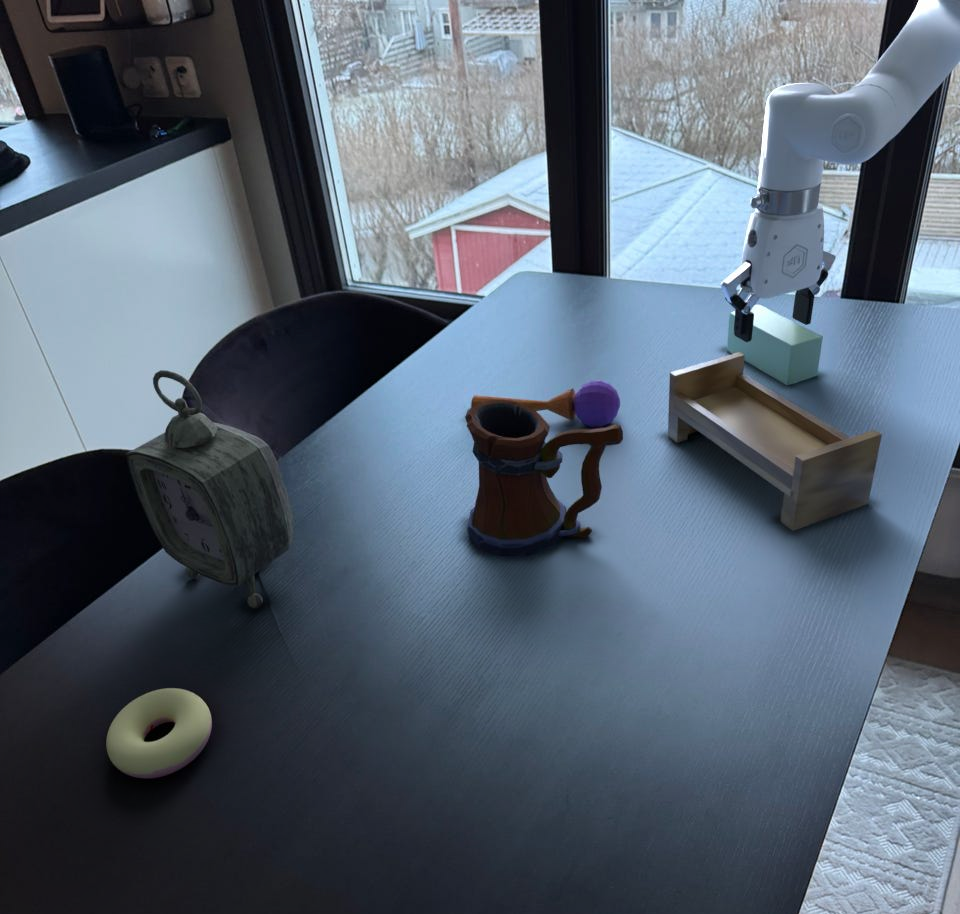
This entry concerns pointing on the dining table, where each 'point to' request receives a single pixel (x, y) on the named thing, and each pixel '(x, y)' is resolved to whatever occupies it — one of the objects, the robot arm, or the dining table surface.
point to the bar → (778, 346)
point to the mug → (527, 478)
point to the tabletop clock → (212, 495)
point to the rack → (774, 439)
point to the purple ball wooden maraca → (575, 403)
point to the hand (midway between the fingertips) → (772, 329)
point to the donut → (167, 751)
